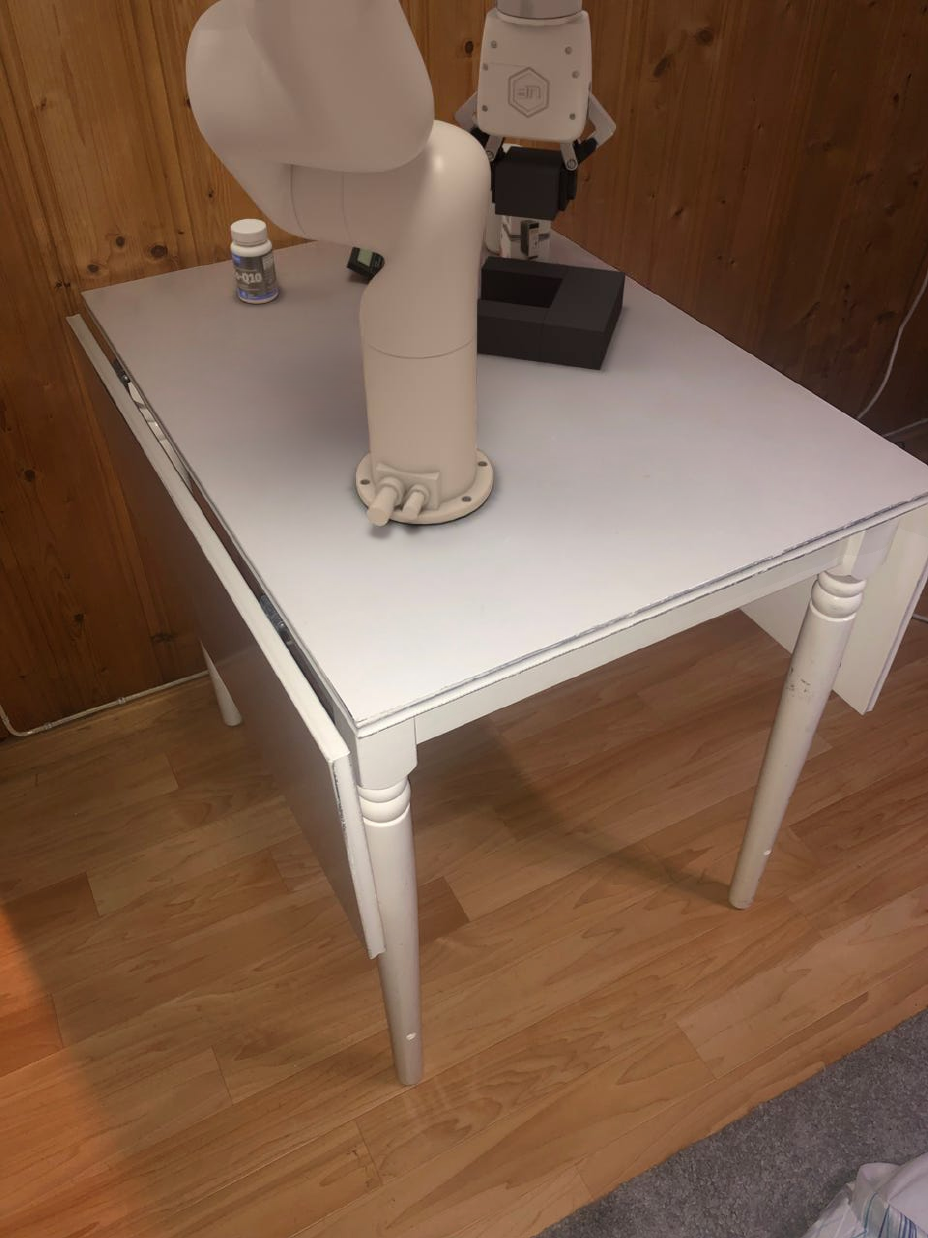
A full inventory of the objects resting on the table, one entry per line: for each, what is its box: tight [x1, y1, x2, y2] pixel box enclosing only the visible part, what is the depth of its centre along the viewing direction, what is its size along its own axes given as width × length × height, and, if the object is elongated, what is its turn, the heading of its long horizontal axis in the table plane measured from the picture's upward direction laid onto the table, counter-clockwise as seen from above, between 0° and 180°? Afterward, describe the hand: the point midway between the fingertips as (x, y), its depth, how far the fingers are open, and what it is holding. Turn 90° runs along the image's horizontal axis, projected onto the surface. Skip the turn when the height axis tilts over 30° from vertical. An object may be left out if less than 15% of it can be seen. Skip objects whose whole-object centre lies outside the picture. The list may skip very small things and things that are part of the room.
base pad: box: [477, 255, 627, 371], centre depth 113 cm, size 16×14×4 cm
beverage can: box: [485, 143, 523, 255], centre depth 125 cm, size 5×5×12 cm
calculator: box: [346, 247, 385, 281], centre depth 124 cm, size 9×12×3 cm
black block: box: [495, 146, 564, 222], centre depth 100 cm, size 6×6×4 cm
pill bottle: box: [230, 218, 279, 305], centre depth 117 cm, size 5×5×8 cm
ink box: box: [499, 215, 552, 263], centre depth 119 cm, size 9×5×12 cm, turn 6°
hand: (531, 200), depth 101 cm, fingers closed on black block, 6 cm apart
